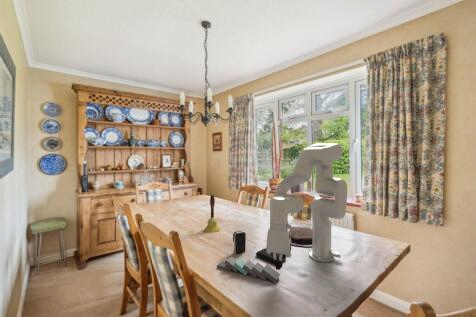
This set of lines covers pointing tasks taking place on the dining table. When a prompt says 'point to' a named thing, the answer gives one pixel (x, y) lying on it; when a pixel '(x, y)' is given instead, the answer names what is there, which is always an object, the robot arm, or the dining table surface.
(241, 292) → the dining table surface
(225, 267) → the domino
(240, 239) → the battery charger
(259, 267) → the domino
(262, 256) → the carrying case or bag
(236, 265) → the domino
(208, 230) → the handbell
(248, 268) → the domino
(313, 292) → the dining table surface
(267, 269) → the domino
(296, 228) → the chocolate cake
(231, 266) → the domino
